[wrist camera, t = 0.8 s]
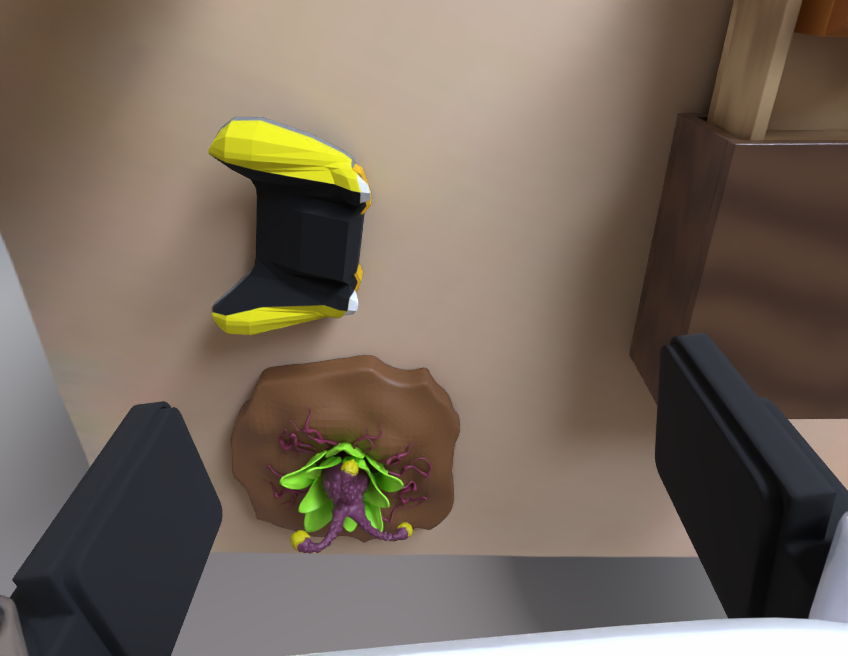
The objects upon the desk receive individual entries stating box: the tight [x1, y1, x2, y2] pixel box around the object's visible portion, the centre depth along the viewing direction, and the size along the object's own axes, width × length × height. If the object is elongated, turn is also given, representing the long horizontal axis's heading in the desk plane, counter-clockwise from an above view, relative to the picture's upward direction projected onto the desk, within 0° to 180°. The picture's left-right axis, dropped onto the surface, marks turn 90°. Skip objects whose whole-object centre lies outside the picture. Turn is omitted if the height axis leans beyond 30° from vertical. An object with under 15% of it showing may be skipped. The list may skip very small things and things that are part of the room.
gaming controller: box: [208, 117, 372, 335], centre depth 40 cm, size 15×6×10 cm
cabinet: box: [630, 114, 848, 419], centre depth 40 cm, size 19×15×8 cm
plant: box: [231, 355, 460, 553], centre depth 48 cm, size 20×20×11 cm
